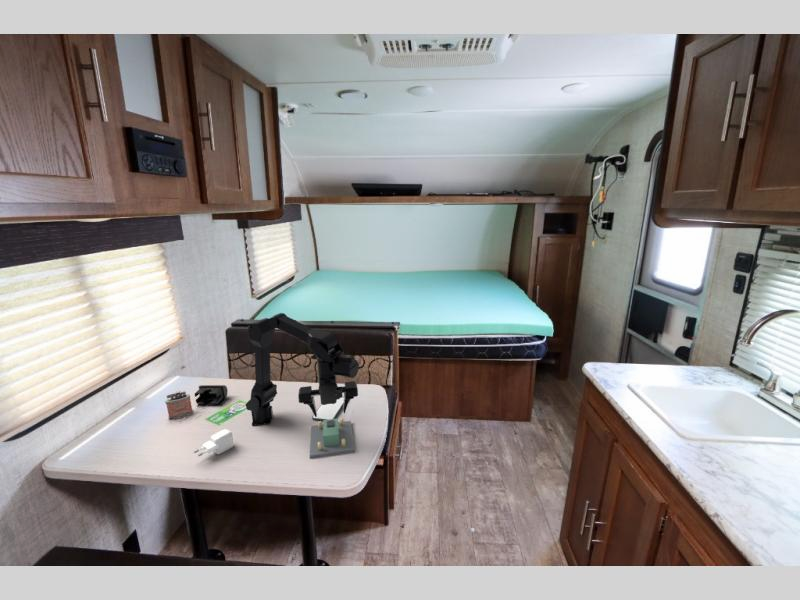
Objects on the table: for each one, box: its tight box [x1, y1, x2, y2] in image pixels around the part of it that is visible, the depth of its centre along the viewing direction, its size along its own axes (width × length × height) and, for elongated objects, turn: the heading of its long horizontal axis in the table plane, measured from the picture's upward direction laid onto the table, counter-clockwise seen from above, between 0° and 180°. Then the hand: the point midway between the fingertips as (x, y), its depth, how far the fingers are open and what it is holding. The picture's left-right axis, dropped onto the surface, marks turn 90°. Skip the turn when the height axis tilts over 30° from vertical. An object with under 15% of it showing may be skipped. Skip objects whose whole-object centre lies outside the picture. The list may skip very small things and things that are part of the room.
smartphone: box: [311, 396, 344, 423], centre depth 142 cm, size 9×2×16 cm
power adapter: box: [193, 428, 235, 457], centre depth 117 cm, size 11×5×6 cm, turn 143°
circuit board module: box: [322, 417, 340, 447], centre depth 123 cm, size 5×9×4 cm, turn 11°
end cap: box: [194, 384, 228, 407], centre depth 147 cm, size 10×7×7 cm
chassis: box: [309, 417, 355, 459], centre depth 124 cm, size 14×16×4 cm
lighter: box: [164, 390, 194, 421], centre depth 138 cm, size 8×3×10 cm, turn 123°
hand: (330, 414), depth 121 cm, fingers open, 9 cm apart
